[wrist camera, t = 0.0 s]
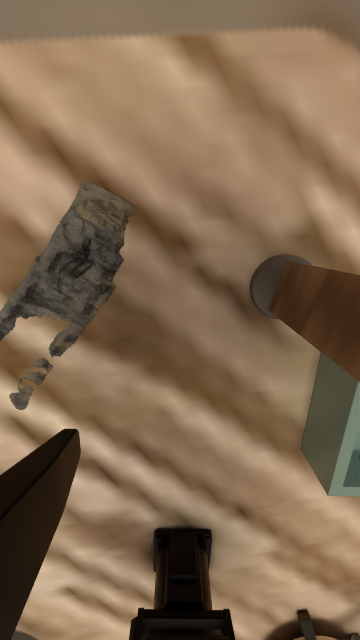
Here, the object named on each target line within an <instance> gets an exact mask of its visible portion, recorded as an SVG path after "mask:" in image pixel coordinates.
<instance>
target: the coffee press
mask: <svg viewBox="0 0 360 640" xmlns="http://www.w3.org/2000/svg"><path fill="white" fill-rule="evenodd" d="M297 615H298V620H299V624H300V628H301V633H302V637H301V638H297V639H294V640H337V639H334V638H331V637H327V636H315V633H314V629H313V626H312V622H311V619H310V616H309V613H308V611H305V612H297ZM349 640H360V636H359V635H358V634H355V633H353V634H351V636H350V639H349Z"/></svg>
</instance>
